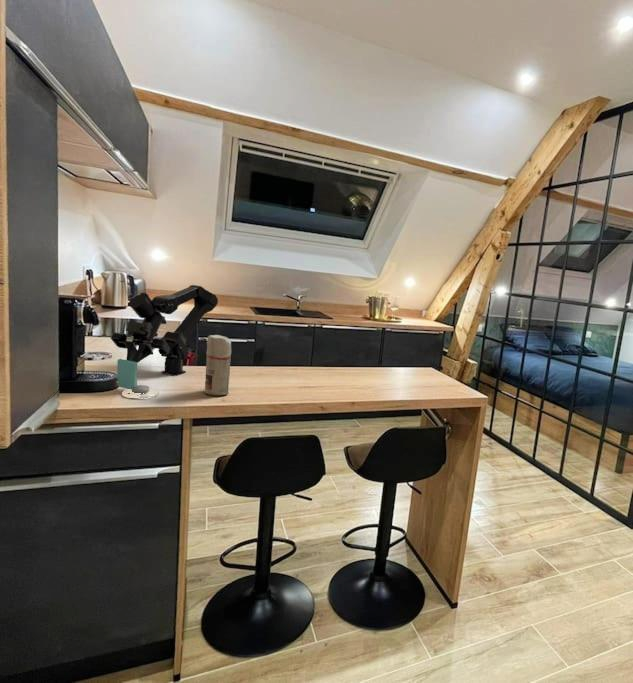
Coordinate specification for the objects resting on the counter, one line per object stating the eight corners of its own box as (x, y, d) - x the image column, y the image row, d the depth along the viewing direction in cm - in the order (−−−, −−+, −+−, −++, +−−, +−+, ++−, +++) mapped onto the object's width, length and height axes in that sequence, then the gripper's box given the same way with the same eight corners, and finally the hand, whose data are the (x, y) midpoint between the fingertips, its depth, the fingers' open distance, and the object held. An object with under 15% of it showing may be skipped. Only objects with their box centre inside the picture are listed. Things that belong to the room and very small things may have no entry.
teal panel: (152, 389, 130) (153, 363, 129) (142, 394, 126) (142, 366, 124) (124, 384, 133) (124, 357, 131) (112, 388, 128) (113, 360, 127)
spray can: (202, 389, 139) (205, 332, 135) (226, 388, 142) (230, 333, 138) (205, 397, 131) (208, 337, 128) (230, 396, 134) (234, 338, 131)
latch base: (134, 386, 135) (134, 384, 135) (165, 390, 133) (165, 389, 133) (114, 396, 124) (114, 394, 124) (147, 401, 123) (147, 399, 123)
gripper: (114, 308, 132) (90, 347, 124) (166, 315, 130) (146, 355, 121) (128, 328, 142) (107, 365, 133) (177, 335, 139) (159, 374, 131)
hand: (129, 364), depth 129 cm, fingers closed
